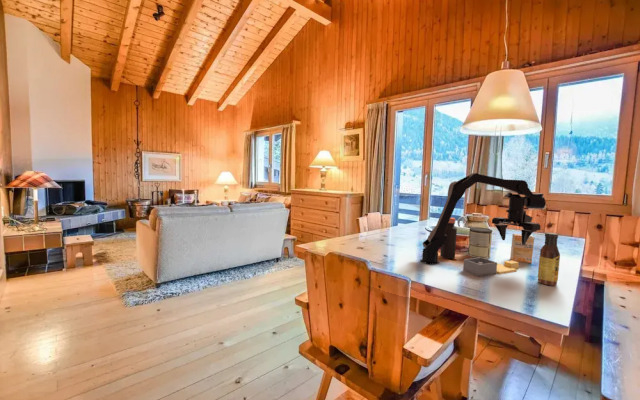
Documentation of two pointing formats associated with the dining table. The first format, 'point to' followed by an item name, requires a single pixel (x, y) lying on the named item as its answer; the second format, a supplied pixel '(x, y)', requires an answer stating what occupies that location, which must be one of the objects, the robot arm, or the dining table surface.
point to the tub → (480, 266)
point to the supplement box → (522, 249)
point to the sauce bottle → (549, 261)
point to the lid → (507, 267)
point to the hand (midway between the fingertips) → (513, 242)
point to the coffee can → (480, 242)
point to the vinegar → (449, 241)
